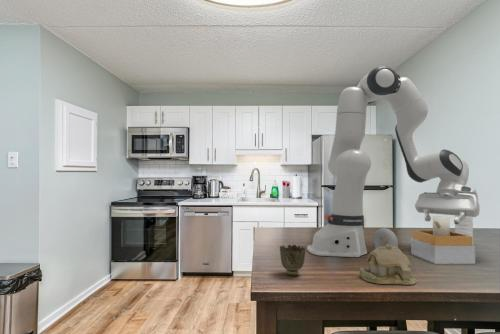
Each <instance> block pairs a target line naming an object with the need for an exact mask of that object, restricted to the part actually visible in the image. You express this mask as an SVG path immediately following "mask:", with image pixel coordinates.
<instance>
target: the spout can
mask: <svg viewBox="0 0 500 334" xmlns="http://www.w3.org/2000/svg"><path fill="white" fill-rule="evenodd" d="M450 221H451V220H450V217H448V216H438V215H435V216H432V230H433V235H434V236H450V231H451V224H450Z"/></svg>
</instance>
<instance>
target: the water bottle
mask: <svg viewBox="0 0 500 334" xmlns="http://www.w3.org/2000/svg"><path fill="white" fill-rule="evenodd" d="M455 217H456V218H458V217H459V216H457V215H454V218H455ZM473 221H474V217H469V216H466V218H465V219H463V220H462V221H461V222H460V224H455V223H454V225H455V226H454V232H456V233H460V234H464V235H468V236H472V242H473V243H474V229H473V228H474V222H473Z"/></svg>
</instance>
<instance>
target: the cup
mask: <svg viewBox="0 0 500 334" xmlns="http://www.w3.org/2000/svg"><path fill="white" fill-rule="evenodd" d="M306 251H307V247H305V246H301V245H298V246H297V244H293V245H291V244H290V243H289V244H288V245H287V247H285V245H280V246H279V253H280V261H281V265H282V267H283V268H284V269H285V270H286V271H285V274H286V275H287V276H289V277H297V276H298V275H299V273H300V272H299V270H301V269H302V267H303V266H304V264H305V263H304V262H305V258H306V256H305V255H306Z"/></svg>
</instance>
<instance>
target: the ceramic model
mask: <svg viewBox="0 0 500 334" xmlns="http://www.w3.org/2000/svg"><path fill="white" fill-rule="evenodd" d="M384 245H385V247H383V246H382V247H377V248H375V249H374V250H372V251H370V253H369V254H368V256H367V258H366V262H368V267H360V268H359V274H360V278H361V279H362V280H364V281H366V282H369V283H374V284H379V285H406V286H407V285H408V286H409V285H416V283H417V282H418V281H417V279H416V277H413V275H412V274H411V273H412V270H411V268H410V267H412V265H411V262H410V260H409V257H408V256H407V255H406V254H404V253H403V251H402V250H401V249H400V248H399V246H398V247H397V246H392V245H391V244H388V243H385V244H384Z"/></svg>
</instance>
